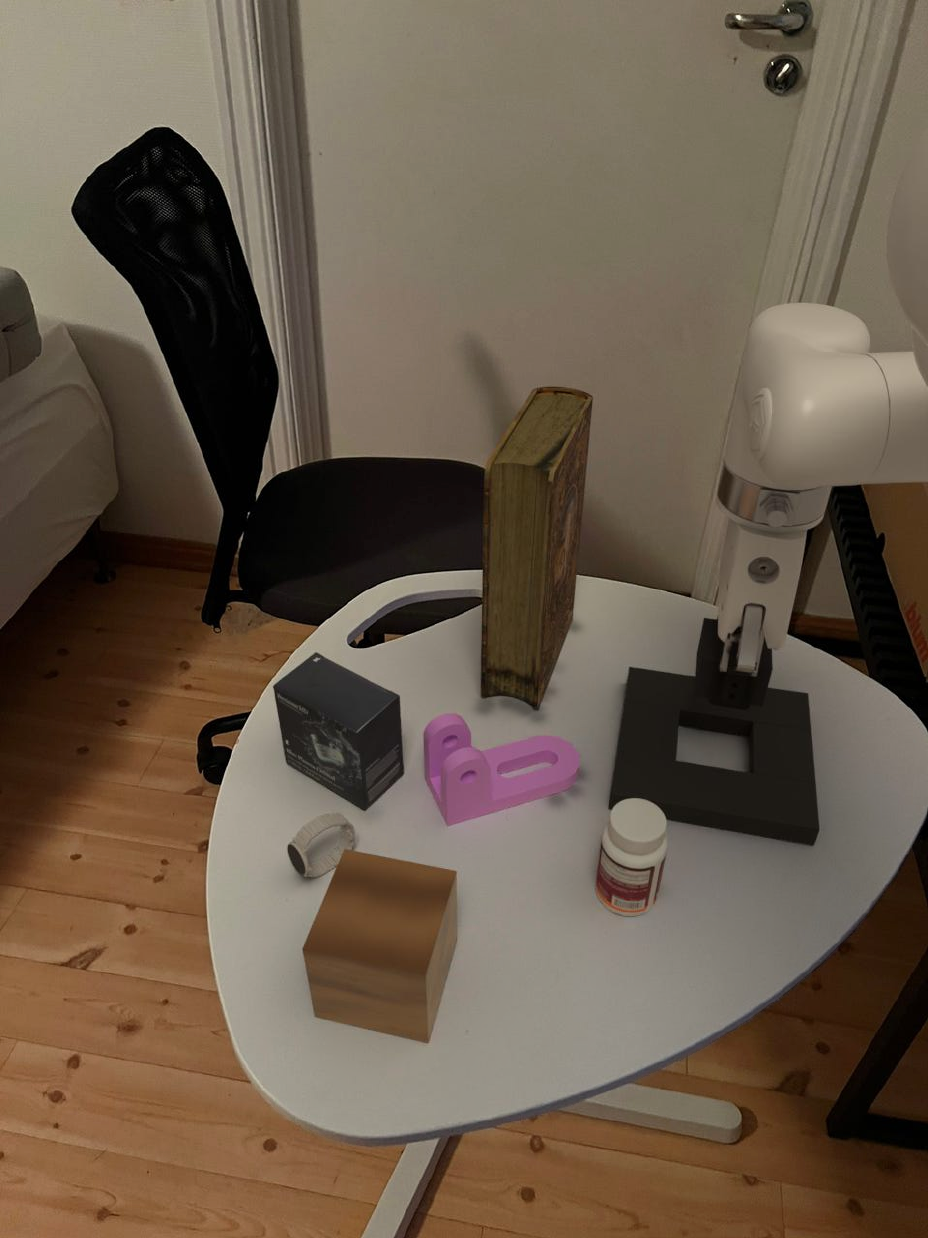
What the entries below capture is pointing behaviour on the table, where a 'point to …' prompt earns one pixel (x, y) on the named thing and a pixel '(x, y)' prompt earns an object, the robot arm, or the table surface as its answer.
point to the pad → (711, 654)
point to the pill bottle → (632, 857)
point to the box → (340, 729)
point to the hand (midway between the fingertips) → (729, 678)
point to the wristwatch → (311, 831)
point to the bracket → (491, 770)
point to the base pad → (713, 796)
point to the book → (532, 541)
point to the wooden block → (383, 945)
